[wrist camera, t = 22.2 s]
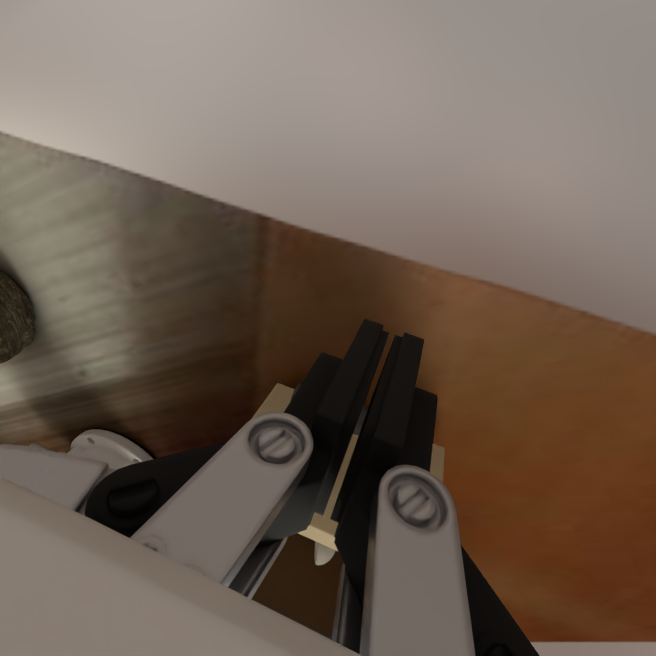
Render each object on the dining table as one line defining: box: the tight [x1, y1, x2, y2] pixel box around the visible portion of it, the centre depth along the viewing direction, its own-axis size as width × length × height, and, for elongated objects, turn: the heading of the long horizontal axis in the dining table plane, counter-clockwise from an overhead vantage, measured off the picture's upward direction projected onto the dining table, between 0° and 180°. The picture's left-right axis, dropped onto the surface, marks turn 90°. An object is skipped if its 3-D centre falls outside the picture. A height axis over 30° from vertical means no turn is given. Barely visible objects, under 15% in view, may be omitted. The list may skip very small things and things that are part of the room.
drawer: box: [252, 381, 445, 639], centre depth 25 cm, size 20×12×9 cm, turn 167°
